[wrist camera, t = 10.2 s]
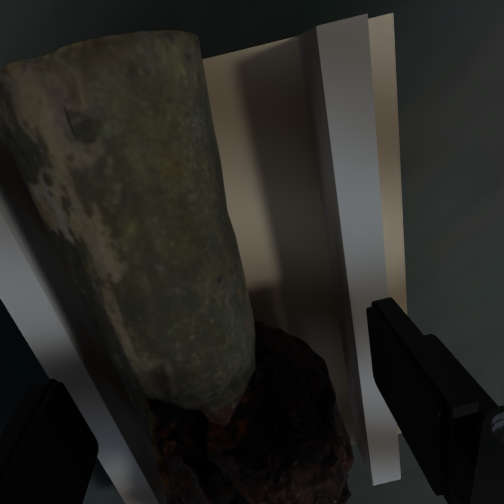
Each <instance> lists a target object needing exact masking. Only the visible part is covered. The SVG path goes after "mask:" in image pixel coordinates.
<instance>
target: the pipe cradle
mask: <svg viewBox="0 0 504 504" xmlns="http://www.w3.org/2000/svg"><path fill="white" fill-rule="evenodd" d="M203 66H204V72H205V77H206V83H207V89H208V95H209V101H210V107H211V113H212V119H213V124H214V129H215V134H216V139H217V144H218V149H219V154H220V159H221V165H222V173H223V180H224V188H225V195H226V203H227V210H228V214H229V217H230V220H231V223H232V226H233V229H234V232H235V235H236V239H237V244H238V248H239V253H240V257H241V261H242V266H243V270H244V274H245V279H246V284H247V289H248V294H249V299H250V303H251V307H252V312H253V318H254V322H262V323H263V324H264V325H266V326H268V327H275V328H280V329H282V330H283V331H284V332H286V333H287V334H289V335H292V336H295V337H298V338H300V339H301V340H303V341H305V342H306V343H307V344H308V345H309V346H310V348H311V349H312V350H313V351H314V352H315V353H317V354H318V355H320V356H321V357H322V358H323V359H324V360H325V362H326V365H327V368H328V370H329V377H330V379H331V382H332V384H333V387H334V391H335V393H336V400H337V404H338V408H339V411H340V413H341V415H342V416H343V417H344V420H345V427H346V429H347V431H348V433H349V435H350V441H351V445H353V444H357V446H358V449H359V451H360V454H361V456H362V459H363V461H364V464H365V466H366V469H367V471H368V474H369V476H370V479H371V481H372V484H373V486H374V485H378V484H382V483H386V482H390V481H394V480H399V479H401V473H400V459H399V445H398V434H399V433H402V432H401V430H400V429H399V427H398V425H397V423H396V421H395V419H394V417H393V416H392V414H391V412H390V410H389V408H388V406H387V404H386V403H385V401H384V399H383V397H382V395H381V393H380V392H379V390H378V388H377V386H376V384H375V381H374V378H373V372H372V362H371V353H370V343H369V333H368V324H367V314H366V308H368V307H371V303H372V301H376V300H380V299H384V298H388V297H392V298H393V299H394V300H395V301H396V303H397V304H398V305H399V306H400V307H401V309H402V310H403V311H404V312H405V313H406V315H407V301H406V279H405V257H404V236H403V214H402V192H401V170H400V149H399V127H398V105H397V84H396V62H395V40H394V18H393V13H391V14H387V15H382V16H378V17H374V18H370V19H368V14H364V15H360V16H356V17H352V18H348V19H344V20H339V21H335V22H331V23H327V24H323V25H319V26H316V27H314V28H312V29H310V30H308V31H306V32H305V33H303V34H301V35H299V36H297V37H293V38H289V39H284V40H280V41H276V42H272V43H268V44H264V45H260V46H256V47H252V48H248V49H244V50H240V51H236V52H231V53H227V54H223V55H219V56H215V57H211V58H207V59H203ZM0 299H1V300H2V302H3V303H4V305H5V307H6V308H7V310H8V312H9V313H10V315H11V317H12V318H13V320H14V321H15V323H16V325H17V326H18V328H19V330H20V331H21V333H22V335H23V336H24V338H25V340H26V341H27V343H28V344H29V346H30V348H31V349H32V351H33V353H34V354H35V356H36V358H37V359H38V361H39V362H40V364H41V366H42V367H43V369H44V371H45V372H46V374H47V376H48V377H49V379H56V380H57V381H58V382H62V383H63V384H64V385H65V387H66V388H67V390H68V392H69V394H70V395H71V397H72V399H73V400H74V402H75V404H76V405H77V407H78V409H79V410H80V412H81V414H82V415H83V417H84V419H85V421H86V422H87V424H88V426H89V427H90V429H91V431H92V432H93V434H94V436H95V437H96V439H97V441H98V447H99V449H98V455H97V458H98V459H99V461H100V462H101V464H102V466H103V467H104V469H105V471H106V472H107V474H108V476H109V477H110V479H111V481H112V482H113V484H114V485H115V487H116V489H117V490H118V492H119V494H120V495H121V497H122V499H123V500H124V502H125V503H126V504H167V498H166V495H165V491H164V488H163V487H162V482H161V478H160V476H159V471H158V466H157V458H156V454H155V451H154V449H153V448H152V446H151V444H150V442H149V439H148V437H147V435H146V433H145V431H144V428H143V426H142V424H141V421H140V419H139V417H138V415H137V412H136V410H135V408H134V405H133V403H132V402H131V400H130V398H129V396H128V394H127V392H126V389H125V387H124V385H123V383H122V380H121V378H120V376H119V374H118V372H117V370H116V369H115V367H114V366H113V364H112V361H111V359H110V357H109V355H108V353H107V351H106V349H105V347H104V345H103V343H102V341H101V339H100V337H99V335H98V333H97V331H96V329H95V327H94V325H93V323H92V321H91V318H90V316H89V314H88V312H87V310H86V308H85V306H84V304H83V302H82V300H81V297H80V295H79V293H78V291H77V289H76V286H75V284H74V282H73V280H72V278H71V275H70V273H69V271H68V269H67V267H66V265H65V263H64V261H63V260H62V258H61V256H60V254H59V252H58V250H57V248H56V246H55V244H54V242H53V240H52V238H51V236H50V234H49V232H48V231H47V229H46V227H45V225H44V223H43V220H42V218H41V216H40V214H39V212H38V210H37V208H36V205H35V203H34V201H33V199H32V197H31V195H30V193H29V190H28V188H27V186H26V184H25V182H24V179H23V177H22V175H21V173H20V171H19V168H18V166H17V164H16V162H15V160H14V157H13V155H12V153H11V151H10V149H9V147H8V146H7V144H6V142H5V140H4V138H3V136H2V134H1V133H0Z"/></svg>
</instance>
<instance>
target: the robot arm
mask: <svg viewBox="0 0 504 504" xmlns="http://www.w3.org/2000/svg"><path fill="white" fill-rule="evenodd" d="M366 314H367V324H368V333H369V343H370V353H371V362H372V372H373V378H374V381H375V384H376V386H377V388H378V390H379V392H380V393H381V395H382V397H383V399H384V401H385V403H386V404H387V406H388V408H389V410H390V412H391V414H392V416H393V417H394V419H395V421H396V423H397V425H398V427H399V429H400V430H401V432H402V434H403V436H404V438H405V440H406V442H407V443H408V445H409V447H410V449H411V451H412V453H413V455H414V456H415V458H416V460H417V462H418V464H419V466H420V467H421V469H422V471H423V473H424V475H425V477H426V479H427V480H428V482H429V484H430V486H431V488H432V490H433V491H434V493H435V494H436V495H437V496H439V495H443V496H444V497H445V499H446V501H447V503H448V504H504V406H499V407H498V406H497V404H496V403H495V402H494V401H493V400H492V399H491V398H490V396H489V395H488V394H487V393H486V392H485V391H484V390H483V388H482V387H481V386H480V385H479V384H478V383H477V382H476V381H475V379H474V378H473V377H472V376H471V375H470V374H469V373H468V371H467V370H466V369H465V368H464V367H463V366H462V365H461V364H460V362H459V361H458V360H457V359H456V358H455V357H454V356H453V354H452V353H451V352H450V351H449V350H448V349H447V348H446V347H445V345H444V344H443V343H442V342H441V341H440V340H439V339H438V338H437V337H436V336H435V335H433V334H429V335H425V336H424V335H423V334H422V333H421V331H420V330H419V329H418V328H417V327H416V325H415V324H414V323H413V322H412V321H411V319H410V318H409V317H408V316H407V315H406V313H405V312H404V311H403V310H402V309H401V307H400V306H399V305H398V304H397V303H396V301H395V300H394V299H393V298H392V297H388V298H384V299H380V300H376V301H372V303H371V307H368V308H366ZM98 449H99V447H98V441H97V439H96V437H95V436H94V434H93V432H92V431H91V429H90V427H89V426H88V424H87V422H86V421H85V419H84V417H83V415H82V414H81V412H80V410H79V409H78V407H77V405H76V404H75V402H74V400H73V399H72V397H71V395H70V394H69V392H68V390H67V388H66V387H65V385H64V384H63V383H62V382H58V381H57V380H56V379H48V380H44V381H40V382H36V383H33V384H32V385H31V386H30V387H29V389H28V390H27V392H26V394H25V395H24V397H23V399H22V400H21V402H20V404H19V405H18V407H17V409H16V410H15V412H14V414H13V415H12V417H11V419H10V420H9V422H8V424H7V425H6V427H5V429H4V430H3V432H2V433H1V435H0V504H82V503H83V500H84V497H85V494H86V490H87V487H88V484H89V481H90V478H91V474H92V471H93V468H94V465H95V461H96V458H97V455H98Z"/></svg>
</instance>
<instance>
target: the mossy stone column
mask: <svg viewBox="0 0 504 504" xmlns="http://www.w3.org/2000/svg"><path fill="white" fill-rule="evenodd" d="M0 133H1V134H2V136H3V138H4V140H5V142H6V144H7V146H8V147H9V149H10V151H11V153H12V155H13V157H14V160H15V162H16V164H17V166H18V168H19V171H20V173H21V175H22V177H23V179H24V182H25V184H26V186H27V188H28V190H29V193H30V195H31V197H32V199H33V201H34V203H35V205H36V208H37V210H38V212H39V214H40V216H41V218H42V220H43V223H44V225H45V227H46V229H47V231H48V232H49V234H50V236H51V238H52V240H53V242H54V244H55V246H56V248H57V250H58V252H59V254H60V256H61V258H62V260H63V261H64V263H65V265H66V267H67V269H68V271H69V273H70V275H71V278H72V280H73V282H74V284H75V286H76V289H77V291H78V293H79V295H80V297H81V300H82V302H83V304H84V306H85V308H86V310H87V312H88V314H89V316H90V318H91V321H92V323H93V325H94V327H95V329H96V331H97V333H98V335H99V337H100V339H101V341H102V343H103V345H104V347H105V349H106V351H107V353H108V355H109V357H110V359H111V361H112V364H113V366H114V367H115V369H116V370H117V372H118V374H119V376H120V378H121V380H122V383H123V385H124V387H125V389H126V392H127V394H128V396H129V398H130V400H131V402H132V403H133V405H134V408H135V410H136V412H137V415H138V417H139V419H140V421H141V424H142V426H143V428H144V431H145V433H146V435H147V437H148V439H149V442H150V444H151V446H152V448H153V449H154V451H155V454H156V458H157V466H158V471H159V476H160V478H161V482H162V487H163V488H164V491H165V495H166V498H167V504H346V502H347V500H348V499H349V497H350V496H351V493H350V492H349V489H348V484H347V478H348V475H347V473H348V471H349V470H350V468H351V467H352V464H353V459H354V456H353V452H352V447H351V441H350V435H349V433H348V431H347V429H346V427H345V420H344V417H343V416H342V415H341V413H340V411H339V408H338V404H337V400H336V393H335V391H334V387H333V384H332V382H331V379H330V377H329V370H328V368H327V365H326V362H325V360H324V359H323V358H322V357H321V356H320V355H318V354H317V353H315V352H314V351H313V350H312V349H311V348H310V346H309V345H308V344H307V343H306V342H305V341H303V340H301V339H300V338H298V337H295V336H292V335H289V334H287V333H286V332H284V331H283V330H282V329H280V328H275V327H268V326H266V325H264V324H263V323H262V322H254V318H253V312H252V307H251V303H250V299H249V294H248V289H247V284H246V279H245V274H244V270H243V266H242V261H241V257H240V253H239V248H238V244H237V239H236V235H235V232H234V229H233V226H232V223H231V220H230V217H229V214H228V210H227V203H226V195H225V188H224V180H223V173H222V165H221V159H220V154H219V149H218V144H217V139H216V134H215V129H214V124H213V119H212V113H211V107H210V101H209V95H208V89H207V83H206V77H205V72H204V66H203V60H202V55H201V49H200V43H199V37H198V35H196V34H193V33H191V32H184V31H178V30H161V31H140V32H134V33H127V34H120V35H112V36H104V37H99V38H95V39H91V40H86V41H82V42H77V43H74V44H71V45H68V46H64V47H61V48H59V49H56V50H54V51H51V52H49V53H46V54H44V55H41V56H39V57H36V58H33V59H19V60H17V61H14V62H12V63H10V64H8V65H6V66H4V67H0Z"/></svg>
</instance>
